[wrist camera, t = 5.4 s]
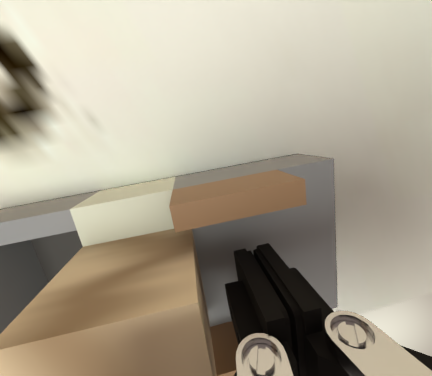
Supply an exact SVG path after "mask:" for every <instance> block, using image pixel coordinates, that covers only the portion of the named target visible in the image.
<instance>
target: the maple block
mask: <svg viewBox="0 0 432 376" xmlns="http://www.w3.org/2000/svg"><path fill="white" fill-rule="evenodd" d="M0 376H217V374H216V367H215V360H214V353H213V345H212V338H211V331H210V324H209V316H208V309H207V304H206V299H205V294H204V289H203V283H202V278H201V273H200V268H199V263H198V257H197V252H196V247H195V242H194V237H193V231H192V229H190V230H185V231H181V232H176V233H175V230H174V229H170V230H165V231H160V232H155V233H150V234H145V235H140V236H135V237H130V238H125V239H119V240H114V241H109V242H104V243H99V244H94V245H89V246H84V247H82V248H81V249H80V250H79V251H78V252H77V253H76V254H75V255H74V256H73V258H72V259H71V260H70V261H69V262H68V263H67V264H66V265H65V266H64V267H63V268H62V269H61V270H60V271H59V272H58V273H57V274H56V276H55V277H54V278H53V279H52V280H51V281H50V282H49V283H48V284H47V285H46V286H45V287H44V288H43V289H42V290H41V291H40V293H39V294H38V295H37V296H36V297H35V298H34V299H33V300H32V301H31V302H30V303H29V304H28V305H27V306H26V307H25V308H24V309H23V311H22V312H21V313H20V314H19V315H18V316H17V317H16V318H15V319H14V320H13V321H12V322H11V323H10V324H9V325H8V326H7V328H6V329H5V330H4V331H3V332H2V333H1V334H0Z"/></svg>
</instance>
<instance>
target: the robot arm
mask: <svg viewBox="0 0 432 376" xmlns="http://www.w3.org/2000/svg"><path fill="white" fill-rule="evenodd" d="M253 254H254V255H253ZM253 254H252V252H251V251H247V250H246V249H245V248H244V249H240V250H235V251H234V258H235V264H236V271H237V277H238V281H235V282H231V283H227V284H225V289H226V295H227V301H228V306H229V310H230V315H231V319H232V323H233V326H234V330H235V334H236V338H237V342H238V345H239V346H238V348H237V351H236V368H237V370H236V372H235V374H234V376H432V357H431V356H428V355H425V354H422V353H420V352H417V351H414V350H411V349H409V348H406V347H403V346H400V345H399V344H398V343H396V342H395V341H394V340H392V339H391V338H390V337H389V336H388V335H387V334H385V333H384V332H383V331H382V330H380V329H379V328H377V326H375V325H374V324H373V323H372V322H370V321H369V320H367V319H366V318H364V317H363V316H361V315H358V314H356V313H353V312H349V311H336V312H334V311H333V310H332V309H331V308H330V307H329V305H328V304H327V303H326V302H325V301H324V300H323V298H322V297H321V296H320V295H319V294H318V293H317V292H316V290H315V289H314V288H313V287H312V286H311V285H310V284H309V282H308V281H307V280H306V279H305V278H304V277H303V275H302V274H301V273H300V272H299V271H298V270H297V269H296V268H294V267H293V268H289V267H288V266H287V265H286V264H285V262H284V261H283V260H282V259H281V257H280V256H279V255H278V254H277V253H276V251H275V250H274V249H273V248H272V246H271V245H270V244H269V243H266V244H262V245H257V247H256V249H254V250H253Z"/></svg>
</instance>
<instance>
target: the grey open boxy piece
mask: <svg viewBox="0 0 432 376" xmlns="http://www.w3.org/2000/svg"><path fill="white" fill-rule="evenodd" d="M170 229H174V230H175V233H176V232H181V231H185V230H190V229H192V231H193V237H194V242H195V247H196V252H197V257H198V263H199V268H200V273H201V278H202V283H203V289H204V294H205V299H206V304H207V309H208V316H209V324H210V331H211V338H212V345H213V353H214V360H215V367H216V374H217V376H234V374H235V372H236V370H237V368H236V351H237V348H238V346H239V345H238V342H237V338H236V334H235V330H234V326H233V323H232V319H231V315H230V310H229V306H228V301H227V295H226V289H225V284H227V283H231V282H235V281H238V277H237V271H236V264H235V258H234V251H235V250H240V249H244V248H245V249H246V250H247V251H251V252H252V254H253V250H254V249H256V247H257V245H262V244H266V243H269V244H270V245H271V246H272V248H273V249H274V250H275V251H276V253H277V254H278V255H279V256H280V257H281V259H282V260H283V261H284V262H285V264H286V265H287V266H288V267H289V268H293V267H294V268H296V269H297V270H298V271H299V272H300V273H301V274H302V275H303V277H304V278H305V279H306V280H307V281H308V282H309V284H310V285H311V286H312V287H313V288H314V289H315V290H316V292H317V293H318V294H319V295H320V296H321V297H322V298H323V300H324V301H325V302H326V303H327V304H328V305H329V307H330V308H331V309H333V308H336V307H337V269H336V230H335V191H334V159H333V158H325V157H317V156H310V155H302V154H294V155H289V156H283V157H278V158H273V159H267V160H262V161H257V162H251V163H246V164H240V165H235V166H230V167H224V168H219V169H214V170H208V171H203V172H197V173H192V174H187V175H181V176H176V177H171V178H165V179H160V180H154V181H149V182H144V183H138V184H133V185H128V186H122V187H117V188H111V189H106V190H101V191H95V192H90V193H85V194H79V195H74V196H69V197H63V198H58V199H52V200H47V201H42V202H36V203H31V204H26V205H20V206H15V207H9V208H4V209H0V334H1V333H2V332H3V331H4V330H5V329H6V328H7V326H8V325H9V324H10V323H11V322H12V321H13V320H14V319H15V318H16V317H17V316H18V315H19V314H20V313H21V312H22V311H23V309H24V308H25V307H26V306H27V305H28V304H29V303H30V302H31V301H32V300H33V299H34V298H35V297H36V296H37V295H38V294H39V293H40V291H41V290H42V289H43V288H44V287H45V286H46V285H47V284H48V283H49V282H50V281H51V280H52V279H53V278H54V277H55V276H56V274H57V273H58V272H59V271H60V270H61V269H62V268H63V267H64V266H65V265H66V264H67V263H68V262H69V261H70V260H71V259H72V258H73V256H74V255H75V254H76V253H77V252H78V251H79V250H80V249H81V248H82V247H84V246H89V245H94V244H99V243H104V242H109V241H114V240H119V239H125V238H130V237H135V236H140V235H145V234H150V233H155V232H160V231H165V230H170ZM253 255H254V254H253Z"/></svg>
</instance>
